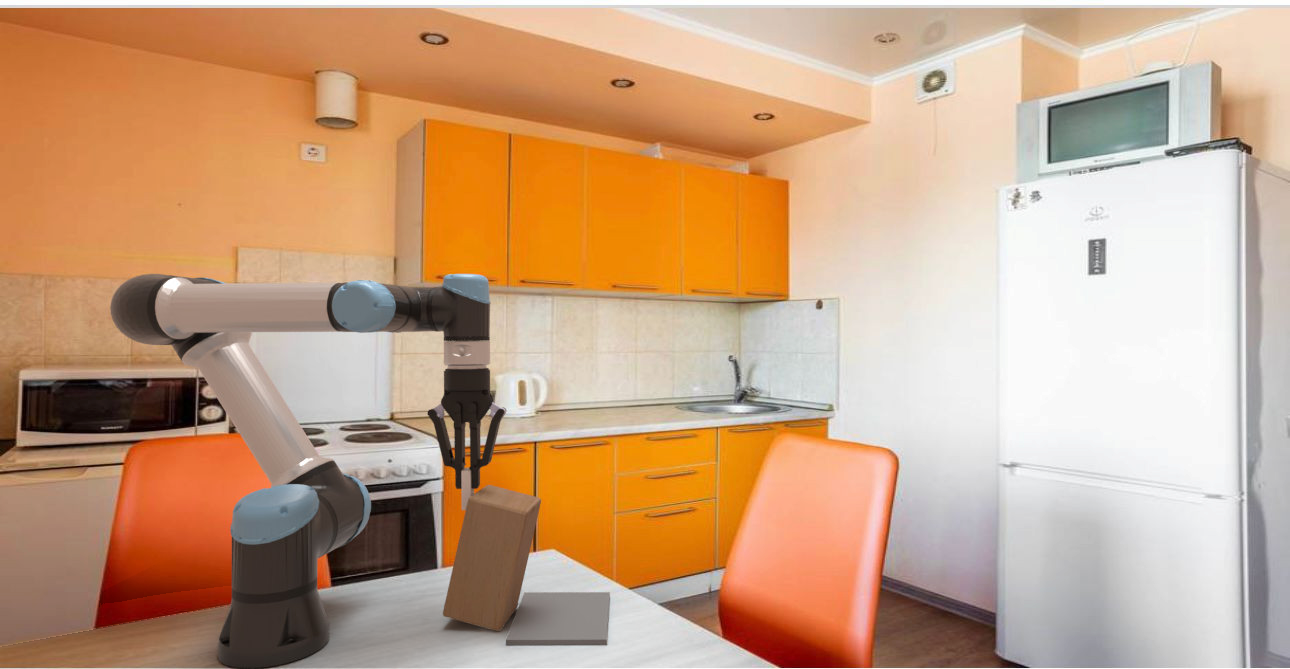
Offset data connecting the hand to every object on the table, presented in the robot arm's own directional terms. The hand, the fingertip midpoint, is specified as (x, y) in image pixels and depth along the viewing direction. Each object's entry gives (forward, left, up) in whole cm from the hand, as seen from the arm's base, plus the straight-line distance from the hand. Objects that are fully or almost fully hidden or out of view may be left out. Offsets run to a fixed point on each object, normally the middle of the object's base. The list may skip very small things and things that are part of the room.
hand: (467, 507), depth 120 cm
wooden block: (+2, 0, -18) cm, 18 cm away
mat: (+16, 0, -19) cm, 25 cm away
